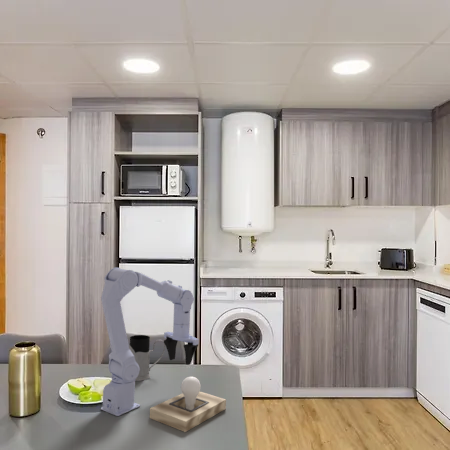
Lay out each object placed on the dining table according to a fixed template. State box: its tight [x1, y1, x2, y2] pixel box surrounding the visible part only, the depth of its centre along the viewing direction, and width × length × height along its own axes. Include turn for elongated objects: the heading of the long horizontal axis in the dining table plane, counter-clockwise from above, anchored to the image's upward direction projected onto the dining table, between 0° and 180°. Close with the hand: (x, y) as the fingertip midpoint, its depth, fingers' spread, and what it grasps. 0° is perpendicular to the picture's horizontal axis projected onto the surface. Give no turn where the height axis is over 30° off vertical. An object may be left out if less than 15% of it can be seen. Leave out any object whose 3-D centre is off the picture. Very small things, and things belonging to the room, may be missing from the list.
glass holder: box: [128, 334, 166, 382], centre depth 165 cm, size 9×14×15 cm, turn 108°
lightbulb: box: [180, 376, 202, 410], centre depth 134 cm, size 6×6×11 cm
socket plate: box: [149, 390, 227, 433], centre depth 133 cm, size 20×14×3 cm
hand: (180, 361), depth 151 cm, fingers open, 7 cm apart
